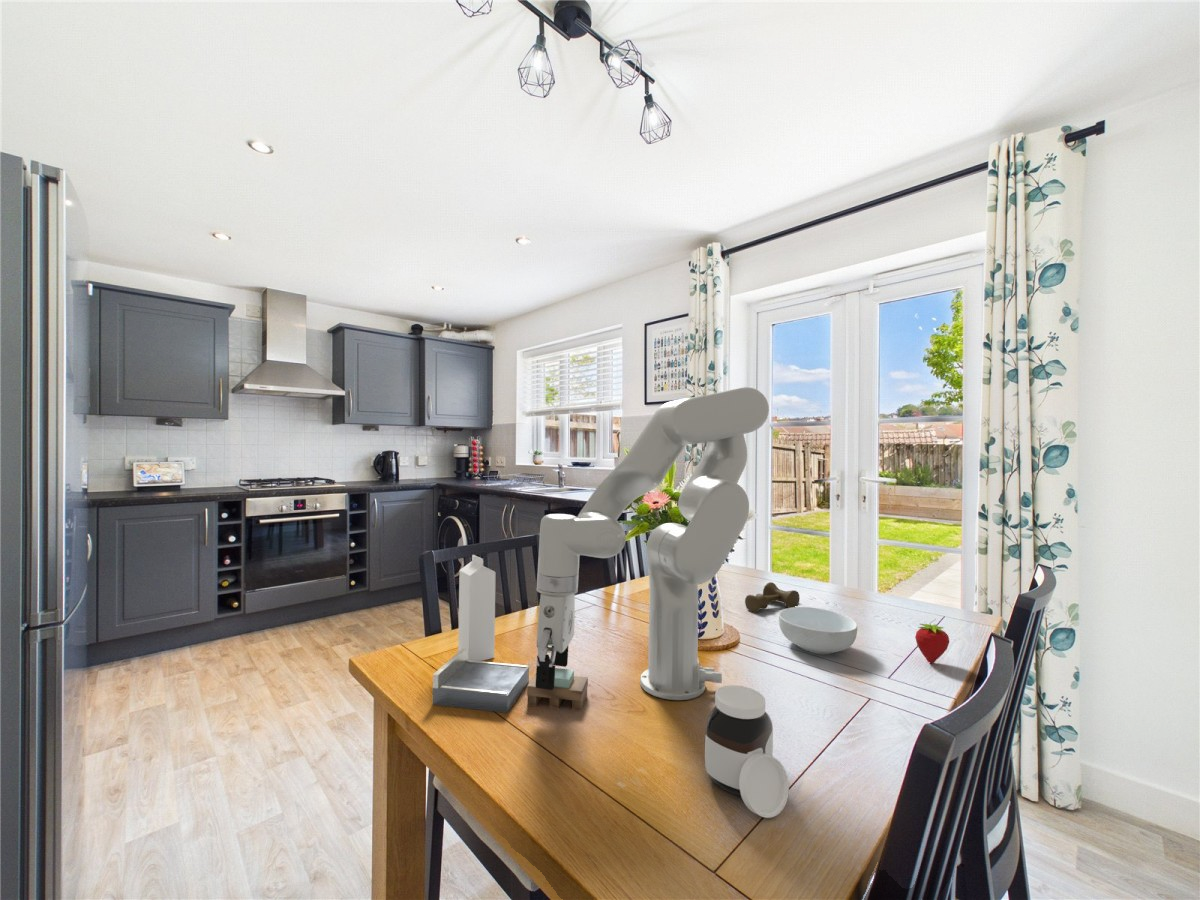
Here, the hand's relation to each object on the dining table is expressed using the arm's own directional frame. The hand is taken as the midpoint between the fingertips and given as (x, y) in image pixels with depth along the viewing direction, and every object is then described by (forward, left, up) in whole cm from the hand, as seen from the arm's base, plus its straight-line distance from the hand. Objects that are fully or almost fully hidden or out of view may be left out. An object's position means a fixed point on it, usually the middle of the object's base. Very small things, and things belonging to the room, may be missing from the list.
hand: (552, 676), depth 91 cm
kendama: (-50, -67, -5) cm, 83 cm away
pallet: (-1, -1, -5) cm, 5 cm away
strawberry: (-77, -33, -5) cm, 84 cm away
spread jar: (-32, +17, -5) cm, 37 cm away
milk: (+22, -16, -5) cm, 27 cm away
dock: (+14, -1, -5) cm, 14 cm away
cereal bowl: (-54, -37, -5) cm, 66 cm away
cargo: (-1, -1, -1) cm, 2 cm away
